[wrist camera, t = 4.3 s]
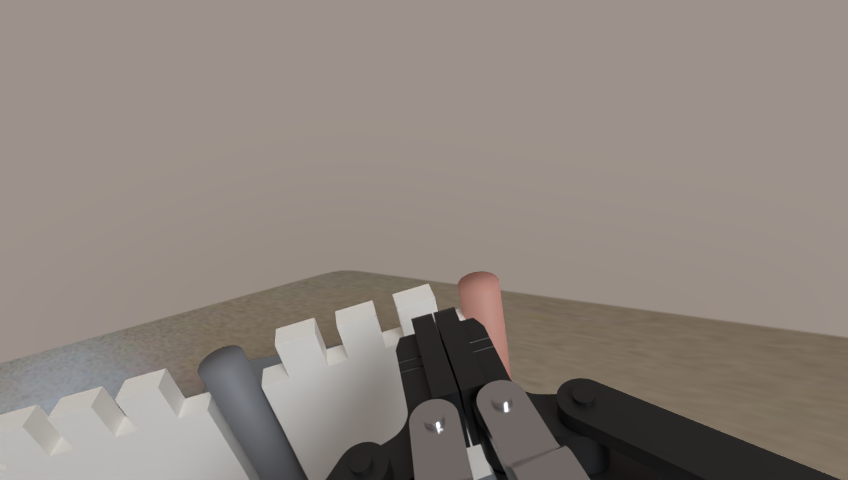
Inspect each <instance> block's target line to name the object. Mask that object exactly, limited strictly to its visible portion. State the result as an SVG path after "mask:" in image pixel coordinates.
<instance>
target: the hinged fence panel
mask: <svg viewBox="0 0 848 480" xmlns="http://www.w3.org/2000/svg"><path fill="white" fill-rule="evenodd" d="M458 290H459V296H460V301H461V307H462V312H463V314H462V312H461V310H460V308H459V309H456V313H457V315H458V317H459V320H460V321H462V320H466V319H470V318H475V319H476V320H477V321H479V322H480V323H481V324H483V325H484V327H485V329H486V331H487V333H488V335H489V337H490V339H491V341H492V343H493V345H494V347H495V349H496V351H497V353H498V355H499V357H500V359H501V361H502V363H503V365H504V367H505V369H506V371H507V373H508V375H509V377H510V379H511V371H510V363H509V356H508V348H507V340H506V332H505V324H504V316H503V308H502V300H501V292H500V285H499V279H498V278H497V276H496V275H494V274H492V273H489V272H474V273H470V274H468V275H466V276H464V277H463V278H461V279H460V281H459V283H458ZM393 298H394V302H395V306H396V309H397V313H398V317H399V320H400V324H401V327H398V328H394V329H391V330H388V331H385V332H382V331H381V328H380V325H379V321H378V318H377V315H376V311H375V308H374V305H373V301H369V302H365V303H362V304H359V305H355V306H352V307H349V308H345V309H342V310H338V311H335V314H336V322H337V328H338V331H339V334H340V337H341V339H342V342H343V344H342V345H339V346H336V347H333V348H329V349H326V347H325V344H324V341H323V339H322V336H321V334H320V331H319V328H318V326H317V323H316V321H315V318H312V319H308V320H305V321H302V322H298V323H295V324H291V325H288V326H285V327H281V328H278V329H276V337H275V347H276V349H277V351H278V354H279V356H280V358H281V360H282V362H283V363H281V364H278V365H274V366H271V367H268V368H265V369H263V377H262V386H261V387H262V389H263V391H264V393H265V395H266V397H267V399H268V401H269V403H270V405H271V407H272V409H273V411H274V413H275V414H276V416H277V418H278V420H279V422H280V424H281V426H282V428H283V430H284V432H285V434H286V436H287V438H288V440H289V442H290V444H291V446H292V448H293V450H294V452H295V454H296V456H297V458H298V460H299V462H300V464H301V466H302V468H303V470H304V472H305V474H306V476H307V478H308V480H326V478H327V477H328V475H329V474H330V473H331V471H332V470H333V468H334V467H335V465H336V464H337V462H338V461H339V459H340V458H341V456H342V455H343V454H344V453H345V452H346V451H347V450H348V449H349V448H351V447H352V446H354V445H356V444H359V443H362V442H374V443H377V444H380V445H382V444H384V443H385V442H387V441H388V440H390V439H392V438H393V437H394V436H396V435H397V434H398V433H399V432H400V431H401V429H402V428H403V426H404V425H405V423H406V420H407V415H408V411H407V405H406V400H405V395H404V390H403V385H402V380H401V375H400V370H399V365H398V360H397V355H396V347H397V344H398V341H399V338H401V337H405V336H408V335H412V334H415V332H414V328H413V325H412V321H411V319H412V318H415V317H419V316H423V315H426V314H430V313H432V315H433V313H434V312H438V310H437V306H436V301H435V297H434V295H433V293H432V290H431V288H430V286H429V284H426V285H422V286H419V287H416V288H412V289H409V290H406V291H402V292H399V293H396V294H393ZM433 318H434V315H433ZM434 321H435V320H434ZM511 381H512V379H511ZM466 428H467V427H466ZM467 432H468V430H467ZM468 437H469V442H470V446H471V447H469V448H466V449H467V453H468V457H469V462H470V466H471V471H472V475H473V479H474V480H477V479H480V478H483V477H486V476H488V475H491V474H492V473H491V471H490V468H489V464H488V462H487V460H486V458H485V456H484V453H483V450H482V447H481V444H479V445H476V446H473V445H472V442H471V439H470V436H469V433H468Z"/></svg>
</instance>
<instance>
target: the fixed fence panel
mask: <svg viewBox="0 0 848 480" xmlns="http://www.w3.org/2000/svg"><path fill="white" fill-rule="evenodd" d="M198 374H199V376H200V377H201V379H202V381H203V382H204V384H205V386H206V387H207V389H208V391H209V392H207V393H203V394H200V395H196V396H193V397H190V398H186V399H185V398H184V396H183V394H182V393H181V391H180V390H179V388H178V387H177V385H176V383H175V382H174V380H173V379H172V377H171V375H170V374H169V372H168V371H167V369H162V370H159V371H155V372H151V373H148V374H144V375H141V376H137V377H134V378H130V379H126V380H125V382H124V384H123V386H122V387H121V389H120V391H119V393H118V395H117V397H116V399H115V400H116V402H117V403H118V404H119V406H120V407H121V408H122V410H123V411H124V413H125V414H126V415H127V416H125V415H124V414H123V413H122V411H121V410H120V409H119V407H118V406H117V405H116V403H115V402H114V401H113V399H112V398H111V397H110V395H109V394H108V393H107V391H106V390H105V389H104V387H103V386H102V387H98V388H94V389H91V390H87V391H84V392H80V393H77V394H73V395H69V396H66V397H62V398H61V399H60V400H59V402H58V403H57V405H56V406H55V408H54V409H53V411H52V412H51V414H50V415H49V417H48V416H47V415H46V413H45V412H44V411H43V410H42V409H41V408H40V407H39V405H38V404H37V405H34V406H30V407H27V408H23V409H20V410H16V411H12V412H9V413H5V414H2V415H0V480H308V478H307V476H306V474H305V472H304V470H303V468H302V466H301V464H300V462H299V460H298V458H297V456H296V454H295V452H294V450H293V448H292V446H291V444H290V442H289V440H288V438H287V436H286V434H285V432H284V430H283V428H282V426H281V424H280V422H279V420H278V419H277V417H276V415H275V413H274V411H273V409H272V407H271V405H270V403H269V401H268V399H267V397H266V395H265V393H264V391H263V389H262V387H261V385H260V383H259V381H258V379H257V377H256V375H255V373H254V371H253V369H252V367H251V365H250V363H249V361H248V359H247V357H246V355H245V353H244V351H243V349H242V348H241V347H239V346H234V345H232V346H226V347H222V348H220V349H218V350H216V351H214V352H212V353H211V354H209V355H208V356H207V357H206V358H205V359H204V360H203V361H202V362H201V363H200V365H199V367H198Z"/></svg>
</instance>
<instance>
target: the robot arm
mask: <svg viewBox="0 0 848 480" xmlns="http://www.w3.org/2000/svg"><path fill="white" fill-rule="evenodd" d="M433 315H434V318H433ZM433 315H432V313H430V314H426V315H423V316H419V317H415V318H412V319H411V321H412V325H413V328H414V332H415V334H412V335H408V336H405V337H401V338H399V341H398V344H397V347H396V355H397V360H398V365H399V370H400V375H401V380H402V385H403V390H404V395H405V400H406V405H407V411H408V415H407V420H406V423H405V425H404V426H403V428H402V429H401V431H400V432H399V433H398V434H397V435H396V436H394V437H393V438H392V439H390V440H388V441H387V442H385V443H384V444H382V445H380V444H377V443H374V442H362V443H359V444H356V445H354V446H352V447H351V448H349V449H348V450H347V451H346V452H345V453H344V454H343V455H342V456H341V458H340V459H339V461H338V462H337V464H336V465H335V467H334V468H333V470H332V471H331V473H330V474H329V475H328V477H327V478H326V480H474V479H473V475H472V471H471V466H470V462H469V457H468V453H467V449H466V448H469V447H471V446H470V442H469V437H468V433H469V436H470V439H471V442H472V445H473V446H476V445H479V444H481V447H482V450H483V453H484V456H485V458H486V460H487V462H488V464H489V468H490V471H491V473H492V475H493V478H494V480H840V479H837V478H835V477H832V476H830V475H827V474H825V473H822V472H820V471H817V470H815V469H813V468H810V467H808V466H805V465H803V464H800V463H798V462H795V461H793V460H790V459H788V458H785V457H783V456H780V455H778V454H775V453H773V452H770V451H768V450H765V449H763V448H760V447H758V446H755V445H753V444H750V443H748V442H745V441H743V440H740V439H738V438H735V437H733V436H730V435H728V434H725V433H723V432H720V431H718V430H715V429H713V428H710V427H708V426H705V425H703V424H700V423H698V422H695V421H693V420H690V419H688V418H685V417H683V416H680V415H678V414H675V413H673V412H670V411H668V410H665V409H663V408H660V407H658V406H655V405H653V404H650V403H648V402H645V401H643V400H641V399H638V398H636V397H633V396H631V395H628V394H626V393H623V392H621V391H618V390H616V389H613V388H611V387H608V386H606V385H603V384H601V383H598V382H596V381H593V380H590V379H583V378H578V379H572V380H569V381H567V382H565V383H564V384H562V385H561V386H560V388H559V389H558V391H557V394H532V393H528V392H525V391H524V390H523V389H522V387H520V386H519V385H518V384H516V383H514V382H512V381H511V379H510V377H509V375H508V373H507V371H506V369H505V367H504V365H503V363H502V361H501V359H500V357H499V355H498V353H497V351H496V349H495V347H494V345H493V343H492V341H491V339H490V337H489V335H488V333H487V331H486V329H485V327H484V325H483V324H481V323H480V322H479V321H477V320H476V319H475V318H470V319H466V320H462V321H460V320H459V317H458V315H457V313H456V310H455V308H454V307H452V308H448V309H445V310H441V311H438V312H434V313H433ZM434 320H435V321H434ZM466 427H467V428H466ZM467 430H468V432H467Z"/></svg>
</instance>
